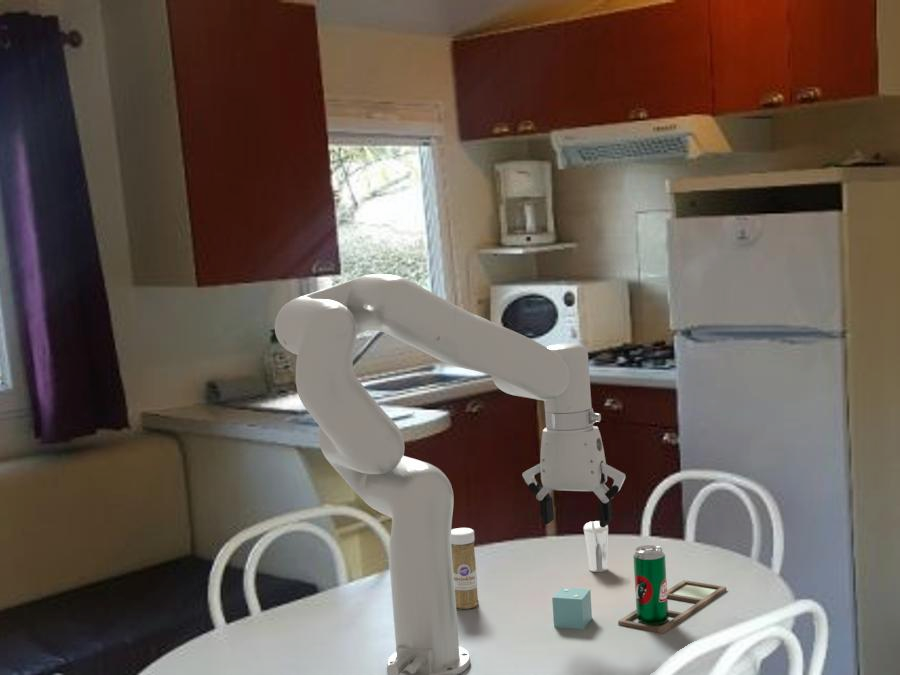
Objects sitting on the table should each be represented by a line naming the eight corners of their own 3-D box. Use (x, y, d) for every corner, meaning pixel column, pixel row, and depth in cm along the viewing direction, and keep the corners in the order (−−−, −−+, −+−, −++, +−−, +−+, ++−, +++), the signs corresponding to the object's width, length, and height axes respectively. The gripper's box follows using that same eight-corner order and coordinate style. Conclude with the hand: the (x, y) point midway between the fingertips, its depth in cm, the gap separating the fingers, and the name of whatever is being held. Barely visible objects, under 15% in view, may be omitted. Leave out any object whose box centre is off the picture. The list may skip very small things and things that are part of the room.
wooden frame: (663, 633, 176) (662, 629, 176) (618, 624, 181) (618, 621, 181) (726, 590, 193) (726, 587, 193) (683, 583, 198) (683, 580, 198)
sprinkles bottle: (457, 611, 193) (452, 535, 191) (450, 603, 197) (444, 529, 195) (482, 607, 194) (477, 531, 192) (474, 599, 198) (469, 525, 197)
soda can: (668, 626, 179) (664, 553, 177) (636, 626, 180) (632, 554, 179) (668, 615, 184) (664, 544, 182) (637, 615, 185) (633, 544, 183)
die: (583, 629, 180) (581, 599, 180) (554, 627, 182) (552, 597, 182) (592, 618, 185) (590, 588, 184) (563, 616, 187) (561, 587, 186)
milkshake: (583, 574, 207) (580, 522, 206) (588, 565, 212) (585, 514, 211) (607, 575, 206) (604, 522, 205) (612, 566, 211) (609, 514, 210)
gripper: (627, 416, 180) (634, 519, 182) (527, 415, 187) (535, 515, 189) (613, 425, 173) (620, 533, 175) (510, 424, 181) (518, 527, 182)
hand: (576, 523), depth 182 cm, fingers open, 9 cm apart
